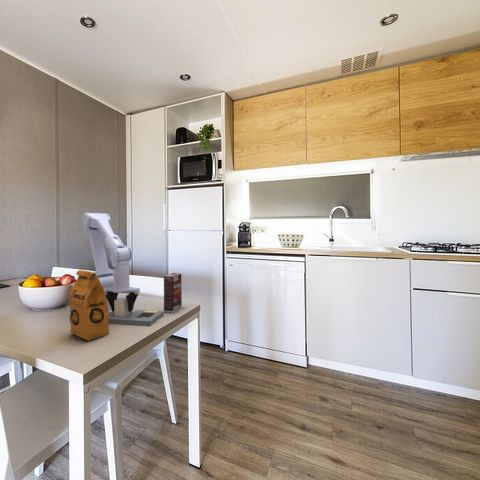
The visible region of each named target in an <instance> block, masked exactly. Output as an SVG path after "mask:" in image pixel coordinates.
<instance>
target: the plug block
mask: <svg viewBox="0 0 480 480" xmlns="http://www.w3.org/2000/svg"><path fill="white" fill-rule="evenodd" d="M114 306H115V311H114V312H115V316H116V317H125V316H127V315H129V314H130V312H128V302H127V299H126V297H119V298H117V299H116V300H114Z"/></svg>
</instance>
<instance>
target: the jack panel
mask: <svg viewBox="0 0 480 480" xmlns="http://www.w3.org/2000/svg"><path fill="white" fill-rule="evenodd" d="M164 314H165V312H164V310H146V309H145V310H143V309H133V311H131V312H130V314H129V315H127V316H125V317H116V316H115V311H113V312H111V313H109V317H108V324H109V325H110V324H111V325H113V324H114V325H129V326H130V325H131V326H146V327H148V326H149V327H151V326H152V325H154V324H155V323H156V322H158V321H159V320H160V319H161V318H162V317H163V316H164Z"/></svg>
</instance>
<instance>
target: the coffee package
mask: <svg viewBox="0 0 480 480" xmlns="http://www.w3.org/2000/svg"><path fill="white" fill-rule="evenodd" d="M75 275H76V276H78V277H77V279H76V281H75V282H74V284H73V286H72V287H71V289H70V292H69V313H70V314H69V316H68V319H69V324H70V332H71V334H73V335H75V336H77V337H78V338H81V339H83V340H86V341H88V342H90V341H92V340H94V339H95V340H96V339H99V338H100V337H102V338H103V337H106V336H107V335H109V333H110V330H109V327H110V326H109V325H110V324H109V323H108V317H109V314H110V313H109V312H108V306H107V300H106V295H105V292H104V289H103V287H102V285H101V283H100V281H99V279H98V278H97V275H96V273H94V272H93V271H90V270H83V269H82V270H81V269H79V270H77V271H76V274H75Z"/></svg>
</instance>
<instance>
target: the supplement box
mask: <svg viewBox="0 0 480 480" xmlns="http://www.w3.org/2000/svg"><path fill="white" fill-rule="evenodd" d="M182 290H183V289H182V273H180V272H173V273H168V274H167V275H164V276H163V311H164V313H169V314H173V313H175V312H176V311H179V309H181V308H182V307H181V306H183V305H182V304H183V302H182V295H183V294H182ZM180 307H181V308H180Z"/></svg>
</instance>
